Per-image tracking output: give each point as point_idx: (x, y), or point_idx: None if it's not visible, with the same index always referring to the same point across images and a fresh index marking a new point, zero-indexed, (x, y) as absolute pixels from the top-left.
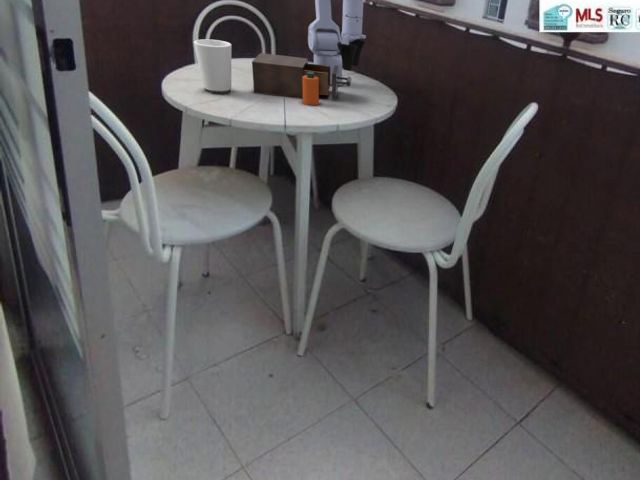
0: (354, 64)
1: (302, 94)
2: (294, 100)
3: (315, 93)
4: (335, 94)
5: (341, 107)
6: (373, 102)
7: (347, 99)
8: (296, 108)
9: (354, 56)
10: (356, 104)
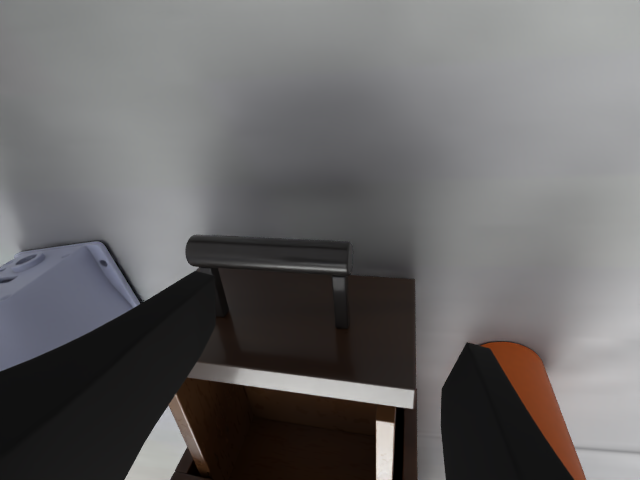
0: (208, 305)
1: (415, 402)
2: None
3: (556, 404)
4: (414, 291)
5: (555, 239)
6: (345, 24)
7: (348, 208)
8: (614, 418)
9: (159, 370)
10: (450, 151)
